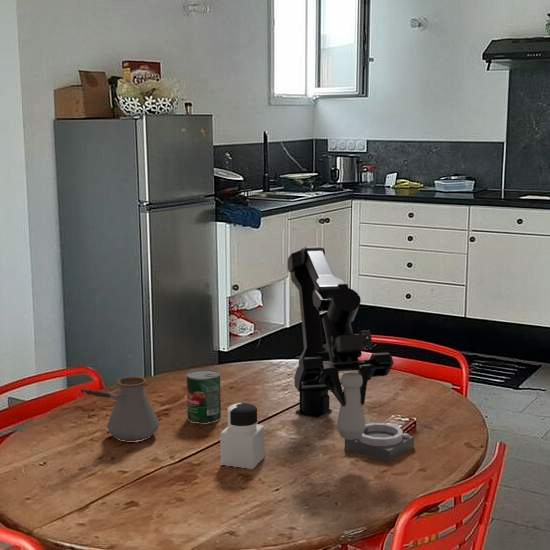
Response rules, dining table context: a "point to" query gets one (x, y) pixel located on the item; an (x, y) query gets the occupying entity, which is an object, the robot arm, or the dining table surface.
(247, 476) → the dining table surface
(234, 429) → the medicine bottle
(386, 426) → the ringed square socket
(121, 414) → the coffee pot
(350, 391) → the salt shaker
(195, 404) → the canned tomato
